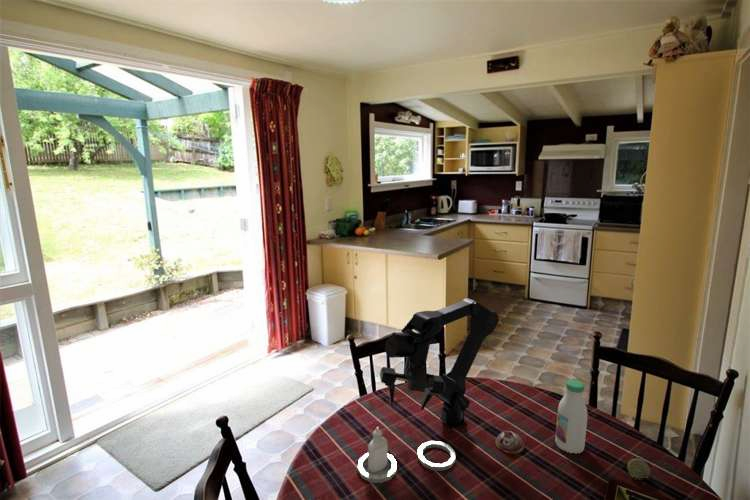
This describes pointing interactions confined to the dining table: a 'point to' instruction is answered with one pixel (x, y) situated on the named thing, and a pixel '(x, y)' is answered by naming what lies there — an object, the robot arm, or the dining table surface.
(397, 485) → the dining table surface
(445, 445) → the collar
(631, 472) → the lime
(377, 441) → the eye dropper bottle
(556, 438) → the milk bottle
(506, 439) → the pastry
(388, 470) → the collar
